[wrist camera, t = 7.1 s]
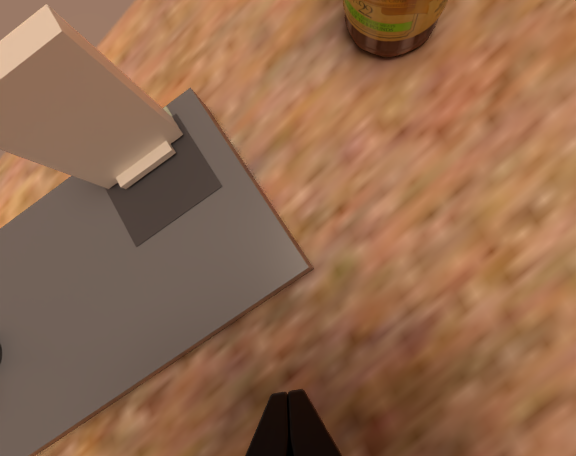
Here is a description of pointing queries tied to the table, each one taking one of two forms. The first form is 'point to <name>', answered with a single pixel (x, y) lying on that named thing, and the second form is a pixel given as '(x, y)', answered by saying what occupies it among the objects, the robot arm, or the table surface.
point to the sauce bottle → (391, 24)
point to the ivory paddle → (77, 107)
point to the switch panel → (130, 279)
